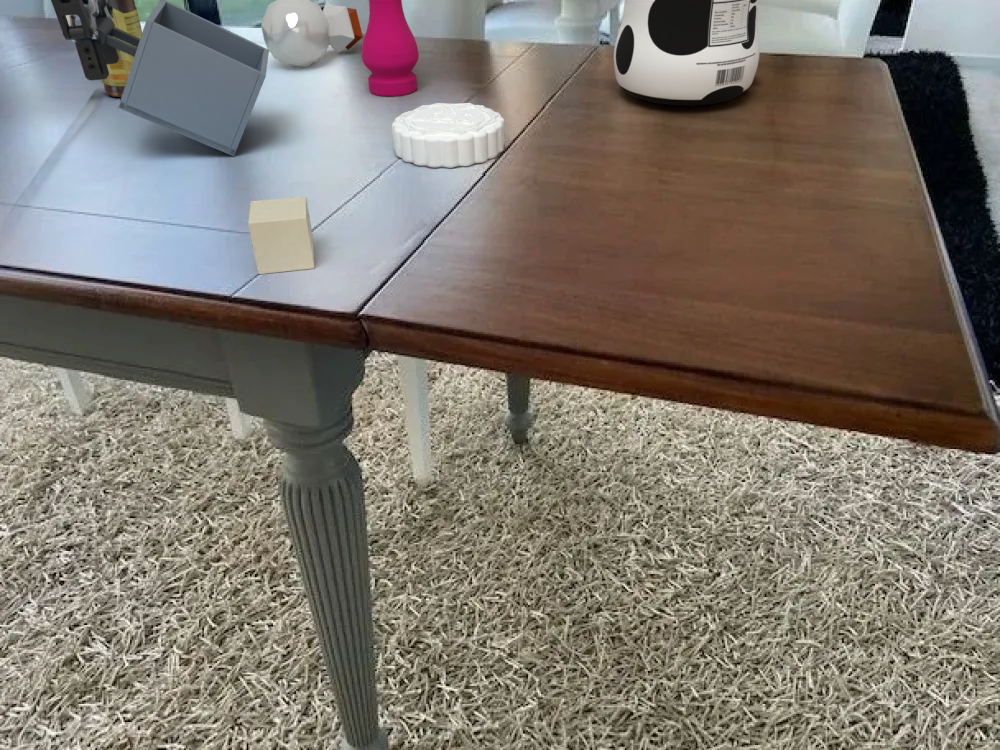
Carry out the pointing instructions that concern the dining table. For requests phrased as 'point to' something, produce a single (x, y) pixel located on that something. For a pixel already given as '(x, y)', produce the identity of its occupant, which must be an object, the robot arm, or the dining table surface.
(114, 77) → the sauce bottle
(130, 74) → the grey drawer with handle
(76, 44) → the robot arm
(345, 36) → the potion bottle
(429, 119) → the mooncake
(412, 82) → the pepper mill
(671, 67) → the milk container
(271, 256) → the block
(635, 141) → the dining table surface
